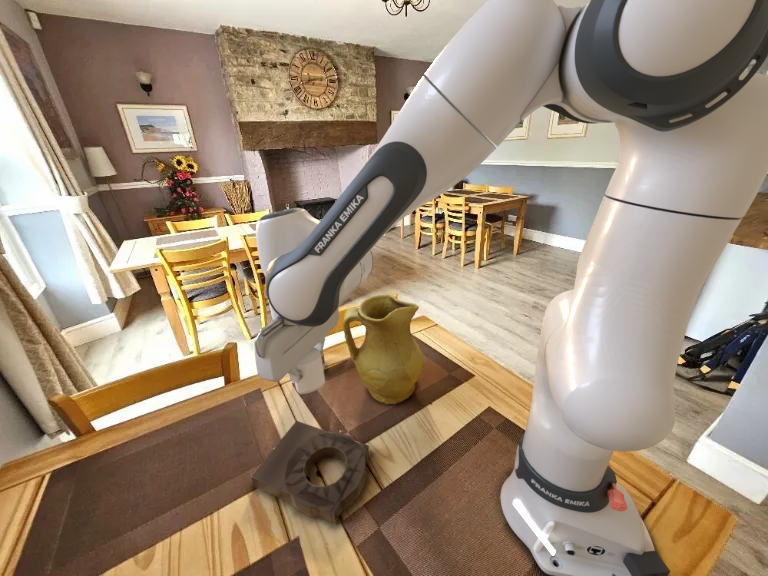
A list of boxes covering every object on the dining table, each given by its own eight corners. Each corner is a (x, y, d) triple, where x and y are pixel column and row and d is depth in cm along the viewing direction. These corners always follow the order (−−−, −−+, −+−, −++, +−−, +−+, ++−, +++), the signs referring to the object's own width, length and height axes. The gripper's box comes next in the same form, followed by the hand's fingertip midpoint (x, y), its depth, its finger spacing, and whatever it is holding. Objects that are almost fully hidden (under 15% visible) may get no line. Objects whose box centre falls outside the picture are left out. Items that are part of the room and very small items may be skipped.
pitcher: (406, 420, 72) (403, 326, 63) (343, 396, 81) (331, 310, 72) (434, 378, 86) (434, 295, 77) (376, 361, 95) (370, 285, 86)
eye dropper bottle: (324, 393, 59) (316, 340, 55) (294, 395, 59) (283, 343, 54) (326, 377, 63) (319, 327, 58) (298, 380, 63) (288, 330, 58)
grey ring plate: (377, 455, 65) (377, 445, 64) (342, 532, 52) (340, 521, 51) (299, 427, 72) (298, 418, 70) (251, 489, 59) (248, 479, 58)
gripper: (270, 339, 44) (286, 412, 50) (341, 283, 61) (347, 342, 67) (236, 331, 46) (256, 402, 52) (314, 280, 63) (322, 337, 69)
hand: (308, 368), depth 59 cm, fingers closed on eye dropper bottle, 5 cm apart
